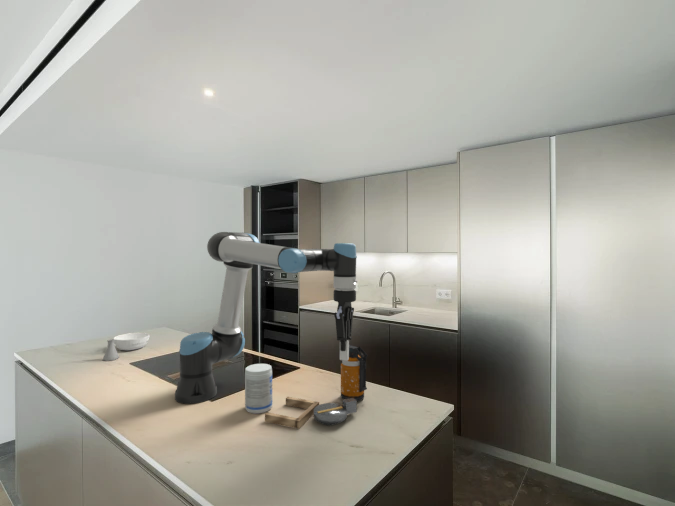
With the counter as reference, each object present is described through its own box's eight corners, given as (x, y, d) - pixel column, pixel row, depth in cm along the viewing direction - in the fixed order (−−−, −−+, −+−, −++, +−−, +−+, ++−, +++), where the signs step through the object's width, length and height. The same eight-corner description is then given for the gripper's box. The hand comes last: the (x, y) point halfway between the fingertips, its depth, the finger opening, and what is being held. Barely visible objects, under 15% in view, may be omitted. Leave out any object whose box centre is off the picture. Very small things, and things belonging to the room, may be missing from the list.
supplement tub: (276, 410, 123) (276, 368, 123) (250, 417, 118) (250, 373, 118) (266, 400, 131) (266, 361, 131) (241, 406, 126) (241, 366, 126)
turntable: (321, 427, 109) (321, 414, 109) (308, 412, 119) (308, 400, 119) (362, 417, 115) (362, 405, 115) (347, 404, 125) (347, 393, 125)
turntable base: (316, 422, 114) (316, 419, 114) (324, 413, 121) (324, 410, 121) (336, 426, 112) (336, 423, 112) (343, 417, 118) (343, 414, 118)
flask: (113, 361, 179) (113, 341, 179) (99, 361, 179) (99, 341, 179) (122, 357, 186) (122, 338, 186) (108, 357, 186) (108, 338, 186)
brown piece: (264, 421, 115) (264, 414, 115) (287, 403, 129) (287, 396, 129) (299, 429, 110) (299, 421, 110) (319, 409, 124) (319, 402, 124)
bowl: (105, 352, 195) (105, 339, 195) (129, 343, 213) (129, 332, 213) (134, 354, 192) (134, 340, 192) (156, 345, 210) (156, 333, 210)
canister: (351, 391, 140) (351, 341, 140) (373, 399, 132) (373, 346, 132) (335, 397, 134) (335, 345, 134) (357, 407, 126) (357, 351, 126)
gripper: (348, 291, 110) (348, 367, 110) (361, 287, 122) (360, 355, 122) (326, 290, 112) (326, 364, 112) (341, 286, 124) (340, 353, 125)
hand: (344, 359), depth 117 cm, fingers closed
